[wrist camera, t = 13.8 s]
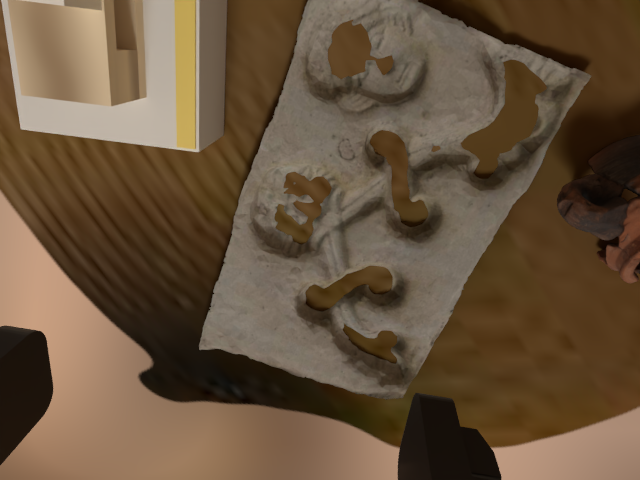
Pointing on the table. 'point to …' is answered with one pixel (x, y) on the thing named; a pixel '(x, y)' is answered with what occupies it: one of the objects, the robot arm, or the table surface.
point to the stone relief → (376, 193)
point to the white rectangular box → (152, 84)
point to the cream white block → (73, 3)
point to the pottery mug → (609, 205)
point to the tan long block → (80, 51)
